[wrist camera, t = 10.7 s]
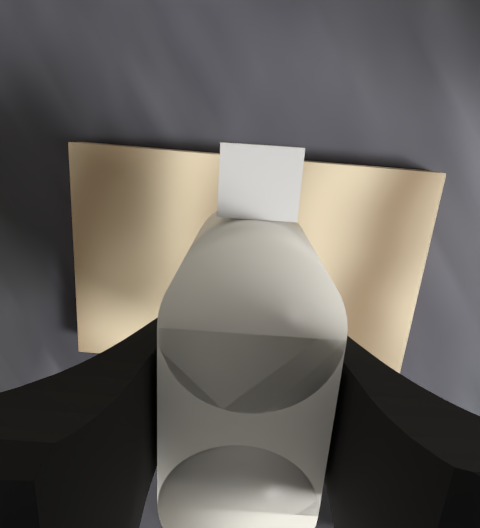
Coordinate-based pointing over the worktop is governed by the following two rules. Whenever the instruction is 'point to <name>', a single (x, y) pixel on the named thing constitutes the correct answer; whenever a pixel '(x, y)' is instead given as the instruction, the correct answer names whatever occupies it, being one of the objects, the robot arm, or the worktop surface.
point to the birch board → (205, 204)
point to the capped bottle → (248, 357)
